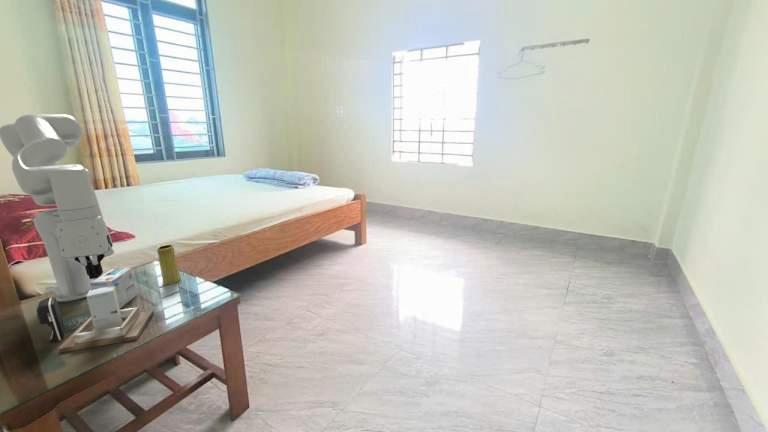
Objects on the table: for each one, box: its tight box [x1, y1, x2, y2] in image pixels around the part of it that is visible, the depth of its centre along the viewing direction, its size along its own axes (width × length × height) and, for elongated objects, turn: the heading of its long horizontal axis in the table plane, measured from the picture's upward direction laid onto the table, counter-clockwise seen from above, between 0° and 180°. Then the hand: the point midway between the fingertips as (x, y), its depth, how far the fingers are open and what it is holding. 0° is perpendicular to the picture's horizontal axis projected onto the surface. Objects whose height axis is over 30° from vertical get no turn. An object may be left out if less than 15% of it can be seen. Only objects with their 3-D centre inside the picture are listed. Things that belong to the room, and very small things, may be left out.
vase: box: [156, 244, 182, 285], centre depth 128 cm, size 6×6×14 cm
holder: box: [57, 306, 154, 353], centre depth 98 cm, size 18×14×4 cm
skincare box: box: [86, 286, 122, 331], centre depth 97 cm, size 6×4×12 cm
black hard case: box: [36, 297, 66, 343], centre depth 95 cm, size 7×4×11 cm, turn 40°
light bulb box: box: [90, 267, 138, 309], centre depth 113 cm, size 11×7×11 cm, turn 6°
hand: (96, 276), depth 94 cm, fingers closed
